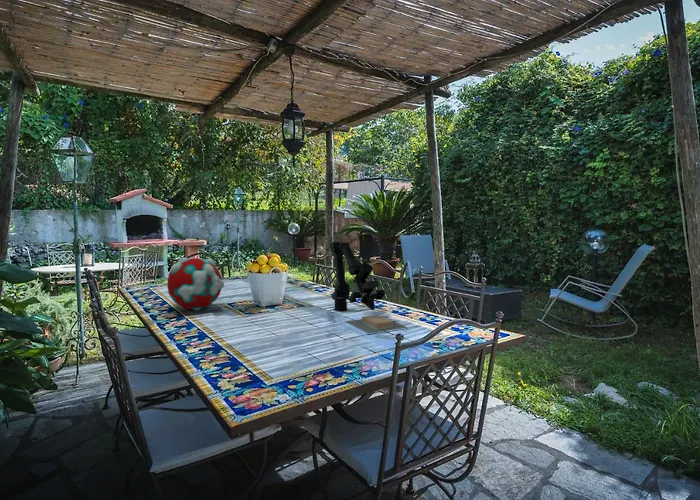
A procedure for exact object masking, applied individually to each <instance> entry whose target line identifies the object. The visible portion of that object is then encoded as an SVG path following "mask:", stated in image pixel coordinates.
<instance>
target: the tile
mask: <svg viewBox="0 0 700 500" xmlns="http://www.w3.org/2000/svg"><path fill="white" fill-rule="evenodd" d="M361 319H362V323H363V324H365V325H368V326H370V327H372V328H374V329H376V330H379V329H385V328H392V327H393V320H391V319H388V318H386V317H384V316H381V315H379V314H375V315H368V316H366V315H365V316H362V317H361Z"/></svg>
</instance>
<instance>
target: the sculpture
mask: <svg viewBox="0 0 700 500" xmlns="http://www.w3.org/2000/svg"><path fill="white" fill-rule="evenodd" d="M166 286H167V291H168V295H169V297H170V298H171V300H172V301H173V302H174V303H175V304H176V305H178V306H180V307H181V308H183V309H185V310H190V311H200V310H202V309H206V308H208V306H210V305H212V304H213V303H214V302H216V300H217V299H218V298H219V296H220V294H221V293H222V292H221V291H222V289H223V288H224V287H225V282H224V280H223V274H222V273H221V271H220V270H219V269H218V268H217V266H216V263H215V261H213V260H211V259H210V258H198V257H182V258H180V259H179V260H178V261H177V262H176V263H174V264H172V265H171V267H170V272H169V275H168V277H167V285H166Z"/></svg>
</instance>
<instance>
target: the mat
mask: <svg viewBox="0 0 700 500" xmlns="http://www.w3.org/2000/svg"><path fill="white" fill-rule="evenodd" d="M392 321H393V320H392ZM344 322H345V323H346V324H348V325H350V326H353V327H354V328H356V329H359V330H360V331H362V332H365V333H366V335H367V336H372V335H377V334H383V333H384V334H385V333H392V332H397V331H398V332H399V331H404V329H405V330H409V327H408V326H406V325H403V324H401V323H398V322H396V321H393V327H392V328H385V329H379V330H376V329H374V328H372V327H370V326H368V325H365V324H363V323H362V318H360V319H353V320H351V319H350V320H345V321H344Z"/></svg>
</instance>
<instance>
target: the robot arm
mask: <svg viewBox="0 0 700 500" xmlns="http://www.w3.org/2000/svg"><path fill="white" fill-rule="evenodd" d="M329 249H330V253H331V255H332V256H333V257H334V266H335V279H336V284H335V285H334V290H333V292H332V295H331V299H332V300H333V301H334V308H333V309H332V311H338V312H344V311H348V310H349V308H348V301H347V300H349V302H350V303H352V304H353V303H356V302H357V299H360V303H361V304H363V305H365V306H366V307H367V308H369V309H370V310H371V311H374V310H375V300H376V301H379V300H382V299H383V298H384V297H385V295H386V294H387V293H386V291H385V289H381V288H380V289H376V288H377V287H378V286H379V282H378V280H377V279H373V281H368V279H369V277H370V276H371V274H372V272H373V270H374V268H373V266H372V265H370V264H369V263H368V262H367V261H365V262H361V261H360V260H359V259H358V260H357V258H356V257H355V255H354V254H355V253H354V252H353V251H352V249H351V246H350V243H349V242H348V241H347V242H344V241H332V242H331V243H330V244H329ZM344 258H345V261H346V263H347V264H348V265H347V271H348V274H349V275H351V276H354V277H353V283H356V286H357V289H356V290H357V291H352V292H351V291H350V285H349V283H347V281H346V275H345V274H346V273H345V267H344V266H345V265H344ZM375 289H376V291H375V292H374V290H375Z"/></svg>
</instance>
